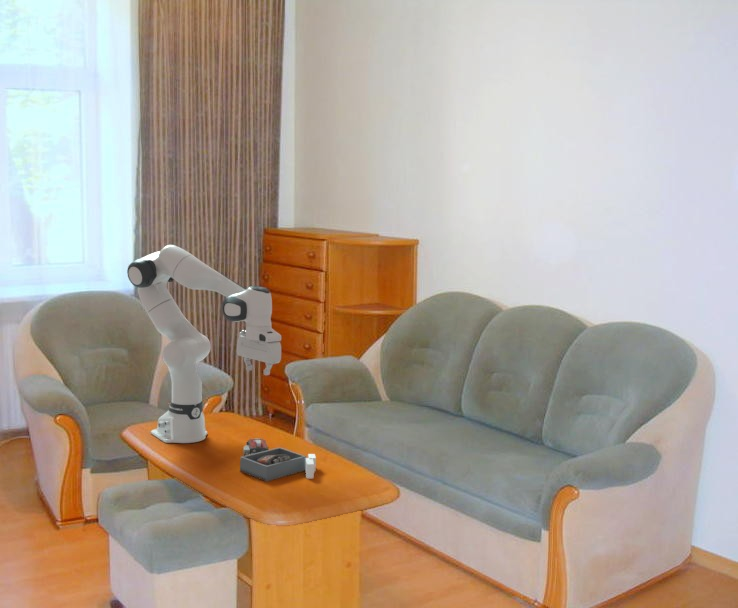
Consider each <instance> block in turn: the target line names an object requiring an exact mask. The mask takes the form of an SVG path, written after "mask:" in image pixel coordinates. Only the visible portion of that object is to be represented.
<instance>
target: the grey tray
mask: <svg viewBox="0 0 738 608" xmlns="http://www.w3.org/2000/svg"><path fill="white" fill-rule="evenodd" d="M279 454H286V455H287V456H289V457H290V459H288V460H287V461H283V462H279V463H275V464H271V465H268V466H266V465H264V464H261V463H258V462H256V461H257V459H259V458H261V457H263V456H267V455H279ZM306 458H307V456H306V455H303V454H301V453H298V452H295V451H292V450H289V449H287V448H283V447H279V446H278V447H274V448H271V449H268V450H267V451H262V452H258V453H254V454H250V455H243V456H240V457H239V460H240V461H239V472H240V471H242V472H241V473H243V472H245V473H244V474H246V473H247V474H246V475H248V474H250V475H249V476H251V475H252V476H251V477H253V476H254V477H253V478H256V477H257V478H256V479H258V478H260V479H259V480H261V479H262V480H261V481H263V480H264V481H265V482H271V481H273V479H274V480H276V479H277V480H278V479H280V477H281V478H284V477H288V476H291V475H294V474H293V473H295V474H298V473H297V472H299V473H302V472H305V471H304V470H305V460H306ZM301 471H302V472H301ZM290 474H291V475H290ZM287 475H288V476H287ZM264 481H263V482H264Z"/></svg>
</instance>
